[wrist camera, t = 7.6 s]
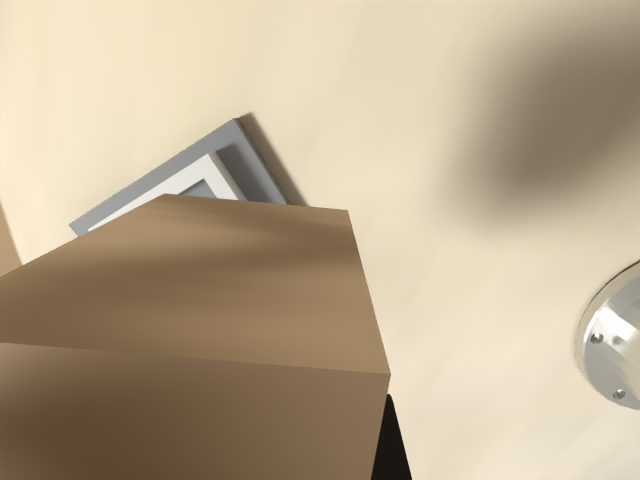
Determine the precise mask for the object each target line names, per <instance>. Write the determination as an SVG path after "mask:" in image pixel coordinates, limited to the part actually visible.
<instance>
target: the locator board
mask: <svg viewBox="0 0 640 480" xmlns="http://www.w3.org/2000/svg"><path fill="white" fill-rule="evenodd" d="M164 193H167V194H177V195H188V196H199V197H210V198H221V199H232V200H242V201H253V202H264V203H275V204H286V205H290V203H289V201H288V200H287V198H286V196H285V195H284V193H283V192H282V190H281V188H280V187H279V185H278V183H277V182H276V180H275V179H274V177H273V175H272V174H271V172H270V171H269V169H268V167H267V166H266V164H265V162H264V161H263V159H262V158H261V156H260V154H259V153H258V151H257V150H256V148H255V146H254V145H253V143H252V141H251V140H250V138H249V137H248V135H247V133H246V132H245V130H244V128H243V127H242V125H241V124H240V122H239V120H238V119H237V118H233V119H232V120H230V121H228V122H227V123H225V124H224V125H222V126H221V127H219V128H218V129H216V130H215V131H213V132H211V133H210V134H208V135H207V136H205V137H204V138H202V139H201V140H199V141H197V142H196V143H194V144H193V145H191V146H190V147H188V148H187V149H185V150H183V151H182V152H180V153H179V154H177V155H176V156H174V157H173V158H171V159H169V160H168V161H166V162H165V163H163V164H162V165H160V166H159V167H157V168H156V169H154V170H152V171H151V172H149V173H148V174H146V175H145V176H143V177H142V178H140V179H138V180H137V181H135V182H134V183H132V184H131V185H129V186H128V187H126V188H124V189H123V190H121V191H120V192H118V193H117V194H115V195H114V196H112V197H110V198H109V199H107V200H106V201H104V202H103V203H101V204H100V205H98V206H97V207H95V208H93V209H92V210H90V211H89V212H87V213H86V214H84V215H83V216H81V217H79V218H78V219H76V220H75V221H73V222H72V223H70V224H69V226H70V227H71V228H72V230H73V231H74V232H75V233H76V234H77V236H78V237H80V236H82V235H84V234H85V233H87V232H89V231H91V230H93V229H95V228H97V227H99V226H101V225H103V224H105V223H107V222H109V221H111V220H113V219H115V218H117V217H119V216H121V215H123V214H125V213H127V212H129V211H130V210H132V209H134V208H136V207H138V206H140V205H142V204H144V203H146V202H148V201H150V200H152V199H154V198H156V197H158V196H160V195H162V194H164Z"/></svg>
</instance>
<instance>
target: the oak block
mask: <svg viewBox="0 0 640 480" xmlns="http://www.w3.org/2000/svg"><path fill="white" fill-rule="evenodd" d="M390 376H391V373H390V369H389V365H388V361H387V358H386V354H385V350H384V346H383V343H382V339H381V335H380V331H379V327H378V324H377V320H376V316H375V312H374V309H373V305H372V301H371V297H370V293H369V290H368V286H367V282H366V278H365V274H364V271H363V267H362V263H361V259H360V256H359V252H358V248H357V244H356V240H355V237H354V233H353V229H352V225H351V222H350V218H349V214H348V210H340V209H329V208H318V207H308V206H297V205H286V204H275V203H264V202H253V201H242V200H232V199H221V198H210V197H199V196H188V195H177V194H167V193H164V194H162V195H160V196H158V197H156V198H154V199H152V200H150V201H148V202H146V203H144V204H142V205H140V206H138V207H136V208H134V209H132V210H130V211H129V212H127V213H125V214H123V215H121V216H119V217H117V218H115V219H113V220H111V221H109V222H107V223H105V224H103V225H101V226H99V227H97V228H95V229H93V230H91V231H89V232H87V233H85V234H84V235H82V236H80V237H78V238H76V239H74V240H72V241H70V242H68V243H66V244H64V245H62V246H60V247H58V248H56V249H54V250H52V251H50V252H48V253H46V254H44V255H42V256H40V257H39V258H37V259H35V260H33V261H31V262H29V263H27V264H25V265H23V266H21V267H19V268H17V269H15V270H13V271H11V272H9V273H7V274H6V275H3V276H2V277H0V480H371V475H372V470H373V465H374V459H375V454H376V449H377V444H378V438H379V433H380V428H381V423H382V417H383V412H384V407H385V402H386V396H387V391H388V386H389V381H390Z"/></svg>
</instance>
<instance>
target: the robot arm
mask: <svg viewBox="0 0 640 480" xmlns="http://www.w3.org/2000/svg"><path fill="white" fill-rule="evenodd" d="M575 356H576V359H577V363H578V366H579V369H580V371H581V372H582V374H583V376H584V377H585V379H586V380H587V381H588V382H589V383H590V384H591V385H592V386H593V387H594V389H595V390H596V391H597V392H599V393H600V394H601V395H602V396H604V397H605V398H606V399H608V400H610V401H612V402H614V403H616V404H618V405H620V406H624V407H628V408H631V409H636V410H640V263H638V264H636V265H634V266H633V267H631V268H629V269H628V270H626V271H624V272H622V273H621V274H620V275H618V276H617V277H616V278H615V279H613V280H612V281H611V282H610V283H608V284H607V285H606V286H605V287H604V288H603V289H602V290H601V291H600V292H599V294H598V295H597V296H596V297H595V298H594V299H593V300H592V302H591V304H590V305H589V307H588V308H587V310H586V311H585V313H584V315H583V317H582V319H581V322H580V324H579V326H578V330H577V335H576V340H575ZM371 480H412V477H411V473H410V469H409V465H408V461H407V457H406V453H405V449H404V444H403V440H402V436H401V432H400V428H399V424H398V420H397V416H396V412H395V408H394V404H393V400H392V397H391V396H390V394H387V396H386V402H385V407H384V412H383V417H382V423H381V428H380V433H379V438H378V444H377V449H376V454H375V459H374V465H373V470H372V475H371Z"/></svg>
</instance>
